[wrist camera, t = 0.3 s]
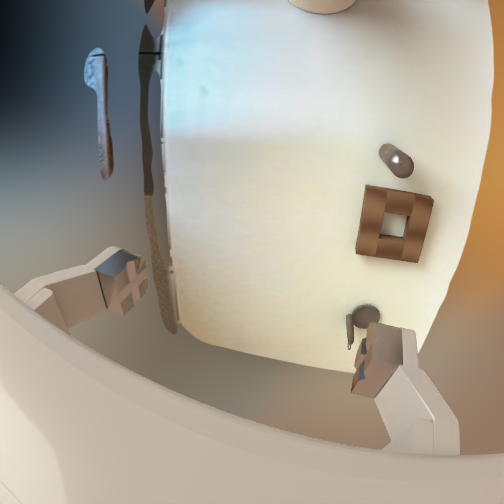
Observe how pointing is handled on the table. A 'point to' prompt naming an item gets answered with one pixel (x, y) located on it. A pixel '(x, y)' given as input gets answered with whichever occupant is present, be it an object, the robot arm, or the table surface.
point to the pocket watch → (360, 320)
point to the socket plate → (398, 203)
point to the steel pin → (396, 161)
